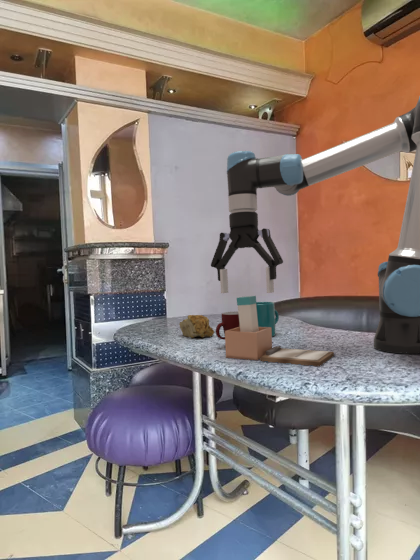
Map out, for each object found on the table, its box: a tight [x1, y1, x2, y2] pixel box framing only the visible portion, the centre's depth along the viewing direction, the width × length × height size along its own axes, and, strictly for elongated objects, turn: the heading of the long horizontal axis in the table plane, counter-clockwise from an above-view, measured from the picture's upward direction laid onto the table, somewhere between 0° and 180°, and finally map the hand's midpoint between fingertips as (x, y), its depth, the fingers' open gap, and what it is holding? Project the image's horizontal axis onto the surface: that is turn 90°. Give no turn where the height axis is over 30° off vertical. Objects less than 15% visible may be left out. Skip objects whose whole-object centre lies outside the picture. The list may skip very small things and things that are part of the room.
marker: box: [236, 295, 259, 332], centre depth 109 cm, size 4×4×15 cm
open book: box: [259, 345, 335, 367], centre depth 103 cm, size 15×12×2 cm
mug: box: [215, 310, 240, 341], centre depth 122 cm, size 11×8×10 cm
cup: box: [256, 301, 280, 338], centre depth 139 cm, size 9×12×11 cm
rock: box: [178, 314, 215, 339], centre depth 144 cm, size 12×9×10 cm
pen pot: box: [224, 327, 273, 361], centre depth 109 cm, size 9×9×7 cm
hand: (246, 292), depth 109 cm, fingers open, 13 cm apart
